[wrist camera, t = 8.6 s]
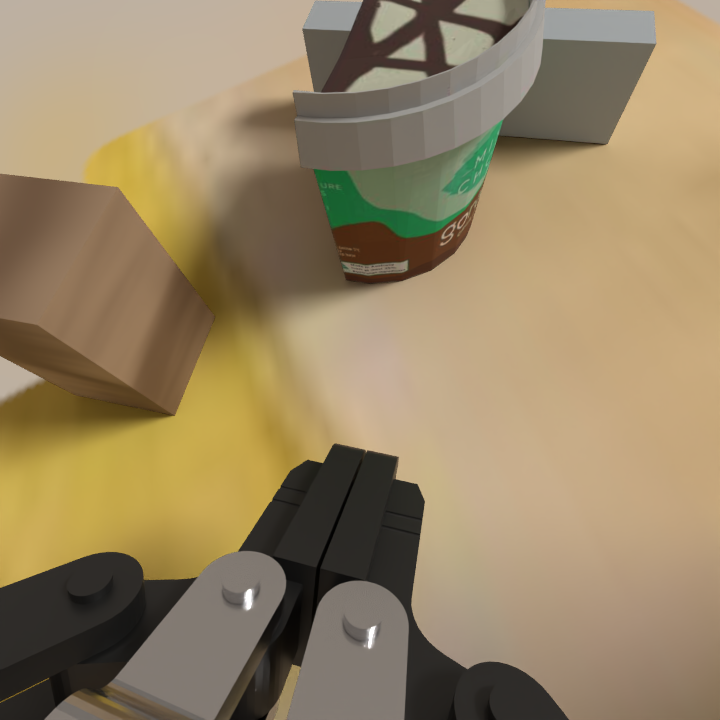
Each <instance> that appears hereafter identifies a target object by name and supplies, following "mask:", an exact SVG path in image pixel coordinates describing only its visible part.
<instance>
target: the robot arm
mask: <svg viewBox="0 0 720 720" xmlns="http://www.w3.org/2000/svg"><path fill="white" fill-rule="evenodd" d="M398 459H399V457H396V456H392V455H387V454H382V453H378V452H373V451H369V450H368V451H367V452H366V450H363V449H359V448H354V447H349V446H345V445H340V444H334V445H333V446H332V448H331V450H330V452H329V454H328V455H327V457H326V459H325V461H324V463H319V462H315V461H310V460H307V461H305V462H303V463H302V464H300V465H299V466H297V467H296V468H294V469H293V470H291V471H290V472H289V474H288V476H287V477H286V479H285V480H284V482H283V483H282V485H281V488H280V489H278V491H277V492H276V494H275V496H274V497H273V500H272V502H270V503H269V505H268V506H267V508H266V509H265V511H264V512H263V514H262V516H261V517H260V519H259V520H258V522H257V523H256V525H255V526H254V528H253V529H252V531H251V532H250V534H249V536H248V537H247V539H246V540H245V542H244V543H243V545H242V546H241V548H240V549H239V551H238V552H234V553H231V554H227V555H225V556H222V557H220V558H218V559H217V560H215V561H213V562H212V563H211V564H210V565H208V566H207V567H206V568H205V569H204V570H203V572H202V573H201V574H200V575H199V576H198V577H196V578H191V579H178V580H144V576H143V570H142V567H141V565H140V564H139V562H138V561H137V560H136V559H134V558H133V557H131V556H129V555H126V554H123V553H117V552H105V553H98V554H93V555H89V556H86V557H83V558H80V559H78V560H75V561H72V562H69V563H67V564H64V565H61V566H59V567H56V568H53V569H50V570H48V571H45V572H42V573H40V574H37V575H34V576H32V577H29V578H26V579H23V580H21V581H18V582H15V583H13V584H10V585H7V586H5V587H2V588H0V701H2V700H4V699H6V698H8V697H10V696H13V695H15V694H17V693H19V692H21V691H23V690H25V689H27V688H29V687H31V686H33V685H35V684H37V683H39V682H41V681H43V680H45V679H47V678H49V679H48V680H46V681H44V682H42V683H40V684H38V685H36V686H34V687H32V688H30V689H28V690H26V691H24V692H22V693H20V694H18V695H16V696H14V697H12V698H10V699H8V700H6V701H4V702H2V703H0V720H274V718H275V715H276V713H277V710H278V705H279V698H280V695H281V693H282V690H283V687H284V685H285V682H286V679H287V677H288V674H289V671H290V669H291V666H292V664H293V665H297V666H300V667H301V669H300V673H299V676H298V680H297V684H296V687H295V691H294V695H293V698H292V702H291V706H290V709H289V713H288V717H287V720H569V719H568V718H567V717H566V715H565V714H564V713H563V712H562V710H561V709H560V708H559V706H558V705H557V704H556V703H555V701H554V700H553V699H552V698H551V696H550V695H549V694H548V693H547V692H546V690H545V689H544V688H543V687H542V686H541V685H540V684H539V683H538V682H537V681H535V680H534V679H533V678H532V677H530V676H529V675H528V674H526V673H525V672H523V671H521V670H519V669H517V668H515V667H513V666H510V665H508V664H504V663H499V662H483V663H479V664H476V665H474V666H472V667H471V668H469V669H466V668H464V667H463V666H461V665H460V664H458V663H457V662H455V661H453V660H452V659H450V658H449V657H447V656H446V655H444V654H443V653H441V652H440V651H439V650H437V649H436V648H435V647H434V646H433V645H432V644H431V643H429V641H428V640H427V639H426V638H425V637H424V635H423V634H422V633H421V631H420V629H419V628H418V626H417V624H416V622H415V620H414V616H413V613H412V607H411V598H412V591H413V583H414V576H415V569H416V562H417V554H418V547H419V540H420V533H421V525H422V518H423V511H424V504H425V501H424V498H423V496H422V494H421V491H420V489H419V487H418V485H417V484H414V483H409V482H405V481H400V480H396V473H397V467H398Z"/></svg>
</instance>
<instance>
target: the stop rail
mask: <svg viewBox="0 0 720 720" xmlns="http://www.w3.org/2000/svg"><path fill="white" fill-rule="evenodd" d="M361 4H362V2H340V1H315V2H314V5H313V7H312V9H311V11H310V13H309V16H308V18H307V20H306V22H305V24H304V26H303V34H304V40H305V45H306V51H307V56H308V62H309V67H310V72H311V78H312V83H313V89H314V92H320V93H321V91H322V89H323V87H324V85H325V83H326V81H327V80H328V78H329V76H330V74H331V72H332V70H333V68H334V67H335V65H336V63H337V61H338V59H339V57H340V55H341V52H342V50H343V48H344V45H345V43H346V41H347V39H348V36H349V34H350V31H351V29H352V26H353V24H354V21H355V18H356V16H357V13H358V11H359V9H360V7H361ZM655 45H656V32H655V18H654V11H633V10H600V9H568V8H545V16H544V32H543V48H542V56H541V64H540V67H539V70H538V72H537V75H536V78H535V80H534V83H533V85H532V86H531V87H530V89H529V90H528V92H527V93H526V95H525V96H524V98H523V99H522V101H521V102H520V103H519V104H518V105H517V106H516V107H515V108H514V109H513V110H512V111H511V112H510V113H509V114H508V115H507V116H506V117H505V118H504V119H503V122H502V125H501V129H500V132H499V135H500V136H513V137H526V138H539V139H551V140H564V141H577V142H589V143H602V144H608V142H609V140H610V137H611V135H612V133H613V131H614V129H615V127H616V125H617V123H618V121H619V119H620V117H621V115H622V113H623V111H624V109H625V107H626V105H627V103H628V101H629V99H630V96H631V94H632V92H633V90H634V88H635V86H636V84H637V82H638V80H639V78H640V76H641V74H642V72H643V70H644V68H645V66H646V64H647V62H648V60H649V58H650V56H651V53H652V51H653V49H654V47H655Z"/></svg>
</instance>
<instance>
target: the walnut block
mask: <svg viewBox="0 0 720 720" xmlns="http://www.w3.org/2000/svg"><path fill="white" fill-rule="evenodd" d="M214 319H215V316H214V315H213V313H212V312H211V311H210V309H209V308H208V307H207V305H206V304H205V303H204V301H203V300H202V299H201V297H200V296H199V295H198V293H197V292H196V291H195V289H194V288H193V287H192V285H191V284H190V283H189V281H188V280H187V279H186V277H185V276H184V275H183V273H182V272H181V271H180V269H179V268H178V267H177V265H176V264H175V263H174V261H173V260H172V259H171V257H170V256H169V255H168V253H167V252H166V251H165V249H164V248H163V247H162V245H161V244H160V243H159V241H158V240H157V239H156V237H155V236H154V235H153V233H152V232H151V231H150V229H149V228H148V227H147V225H146V224H145V223H144V221H143V220H142V219H141V217H140V216H139V215H138V213H137V212H136V211H135V209H134V208H133V207H132V205H131V204H130V203H129V201H128V200H127V199H126V197H125V196H124V195H123V193H122V192H121V191H120V189H119V188H118V187H111V186H103V185H94V184H85V183H76V182H67V181H59V180H50V179H41V178H33V177H24V176H15V175H6V174H0V356H1V357H3V358H5V359H7V360H9V361H11V362H13V363H15V364H16V365H19V366H20V367H22V368H24V369H26V370H28V371H30V372H32V373H34V374H36V375H38V376H39V377H41V378H43V379H45V380H47V381H49V382H51V383H53V384H55V385H57V386H59V387H61V388H63V389H64V390H66V391H68V392H70V393H72V394H74V395H78V396H82V397H87V398H92V399H97V400H102V401H106V402H111V403H116V404H121V405H126V406H130V407H135V408H140V409H145V410H150V411H154V412H159V413H164V414H169V415H174V416H175V414H176V411H177V409H178V406H179V404H180V402H181V399H182V397H183V394H184V392H185V389H186V387H187V384H188V382H189V380H190V377H191V375H192V372H193V370H194V367H195V365H196V363H197V360H198V358H199V355H200V353H201V350H202V348H203V345H204V343H205V341H206V338H207V336H208V333H209V331H210V328H211V326H212V323H213V321H214Z"/></svg>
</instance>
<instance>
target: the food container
mask: <svg viewBox="0 0 720 720" xmlns="http://www.w3.org/2000/svg"><path fill="white" fill-rule="evenodd" d="M544 16H545V0H363V2H362V4H361V7H360V9H359V11H358V13H357V16H356V18H355V21H354V24H353V26H352V29H351V31H350V34H349V36H348V39H347V41H346V43H345V45H344V48H343V50H342V52H341V55H340V57H339V59H338V61H337V63H336V65H335V67H334V68H333V70H332V72H331V74H330V76H329V78H328V80H327V81H326V83H325V85H324V87H323V89H322V91H321V93H320V92H308V91H297V90H294V91H293V97H294V102H295V107H296V111H297V117H296V118H295V120H294V122H295V129H296V137H297V144H298V151H299V158H300V166H301V167H302V168H311V169H314V172H315V176H316V179H317V183H318V186H319V189H320V193H321V196H322V200H323V203H324V206H325V210H326V213H327V217H328V220H329V223H330V227H331V230H332V233H333V237H334V240H335V244H336V247H337V250H338V254H339V257H340V261H341V264H342V267H343V271H344V274H345V278H346V280H349V281H356V282H362V283H369V284H370V283H382V282H394V281H403V280H406V279H408V278H411V277H414V276H417V275H420V274H422V273H425V272H428V271H431V270H432V269H434V268H435V267H436V266H438V265H439V264H441V263H442V262H443V261H445V260H446V259H447V258H449V257H450V256H451V255H453V254H454V253H455V252H456V250H457V249H458V248H459V246H460V245H461V243H462V242H463V241H464V239H465V238H466V236H467V233H468V231H469V229H470V226H471V223H472V220H473V216H474V213H475V210H476V207H477V203H478V200H479V197H480V194H481V190H482V187H483V184H484V181H485V177H486V174H487V171H488V168H489V164H490V161H491V158H492V155H493V151H494V148H495V145H496V142H497V138H498V135H499V132H500V129H501V125H502V122H503V119H504V118H505V117H506V116H507V115H508V114H509V113H510V112H511V111H512V110H513V109H514V108H515V107H516V106H517V105H518V104H519V103H520V102H521V101H522V99H523V98H524V96H525V95H526V93H527V92H528V90H529V89H530V87H531V86H532V85H533V83H534V80H535V78H536V75H537V72H538V70H539V67H540V64H541V56H542V48H543V32H544Z"/></svg>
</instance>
